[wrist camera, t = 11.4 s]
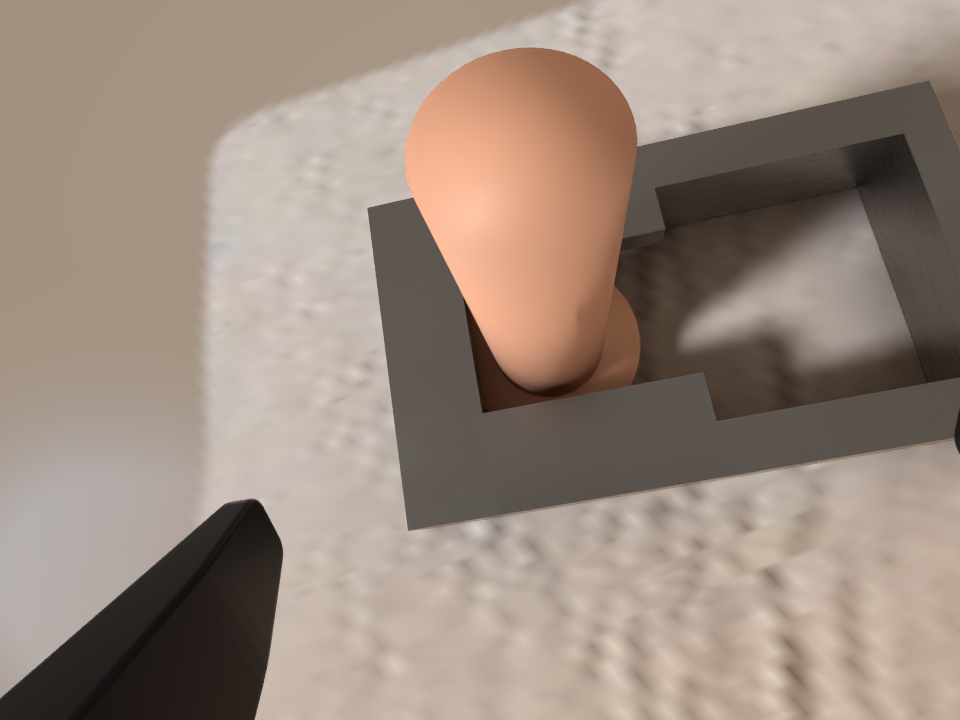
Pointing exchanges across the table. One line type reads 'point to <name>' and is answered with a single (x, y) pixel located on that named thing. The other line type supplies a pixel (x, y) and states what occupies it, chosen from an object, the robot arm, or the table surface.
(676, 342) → the table surface
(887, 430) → the keyhole plate
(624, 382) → the peg
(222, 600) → the robot arm
